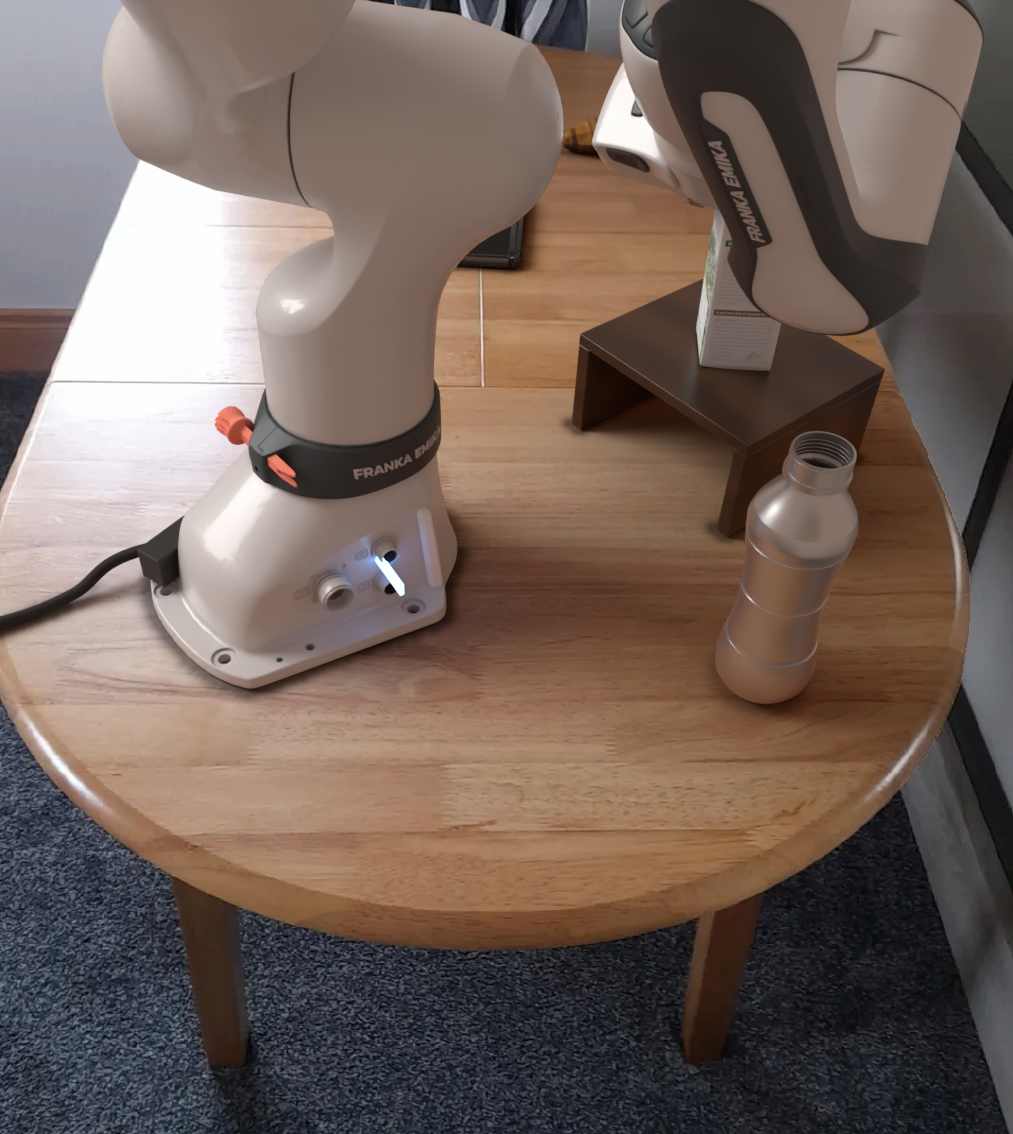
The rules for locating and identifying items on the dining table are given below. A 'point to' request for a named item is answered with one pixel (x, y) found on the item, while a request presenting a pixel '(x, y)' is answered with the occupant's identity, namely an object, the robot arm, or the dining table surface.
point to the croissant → (581, 136)
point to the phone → (498, 249)
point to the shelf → (726, 389)
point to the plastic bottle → (789, 570)
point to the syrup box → (730, 314)
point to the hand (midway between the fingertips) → (758, 213)
